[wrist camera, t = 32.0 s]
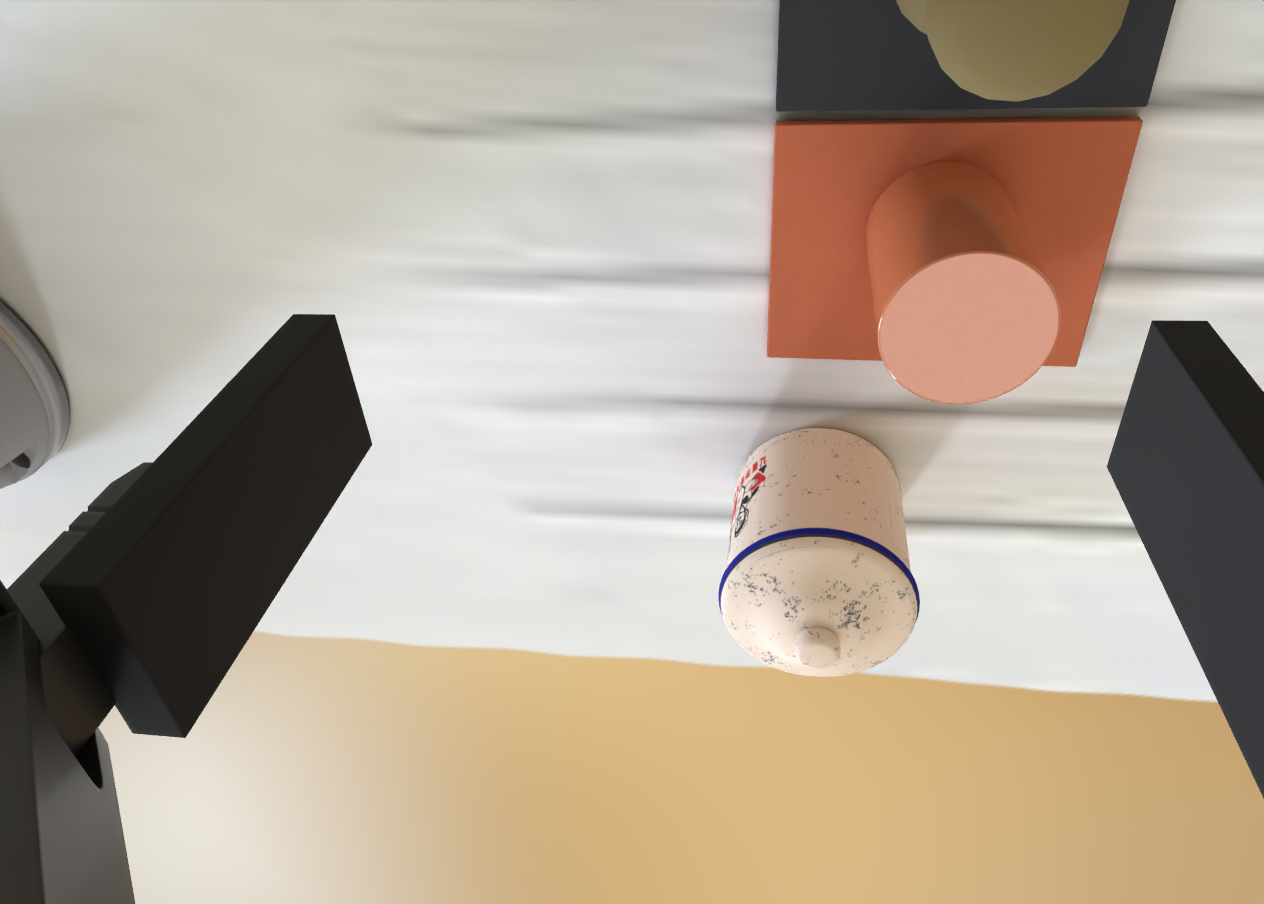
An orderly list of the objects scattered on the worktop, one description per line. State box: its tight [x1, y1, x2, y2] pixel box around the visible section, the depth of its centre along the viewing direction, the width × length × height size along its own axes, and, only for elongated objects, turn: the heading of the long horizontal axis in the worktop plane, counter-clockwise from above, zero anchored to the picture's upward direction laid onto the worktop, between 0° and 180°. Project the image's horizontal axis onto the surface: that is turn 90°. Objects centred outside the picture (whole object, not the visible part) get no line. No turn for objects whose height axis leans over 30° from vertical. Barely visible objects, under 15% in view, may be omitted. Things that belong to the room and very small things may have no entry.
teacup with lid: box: [719, 428, 920, 677], centre depth 44 cm, size 12×9×12 cm
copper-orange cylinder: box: [866, 161, 1061, 404], centre depth 35 cm, size 6×6×9 cm
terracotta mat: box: [767, 117, 1143, 367], centre depth 39 cm, size 14×11×1 cm
